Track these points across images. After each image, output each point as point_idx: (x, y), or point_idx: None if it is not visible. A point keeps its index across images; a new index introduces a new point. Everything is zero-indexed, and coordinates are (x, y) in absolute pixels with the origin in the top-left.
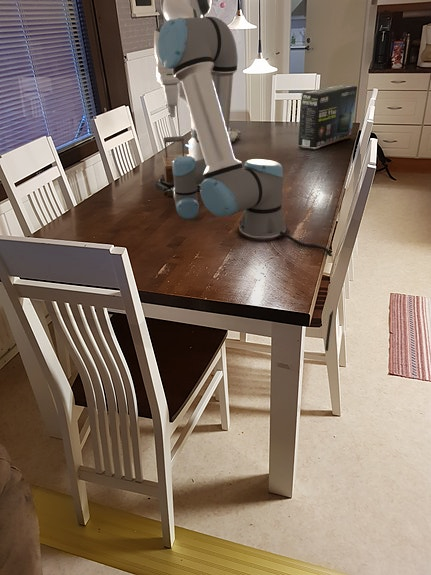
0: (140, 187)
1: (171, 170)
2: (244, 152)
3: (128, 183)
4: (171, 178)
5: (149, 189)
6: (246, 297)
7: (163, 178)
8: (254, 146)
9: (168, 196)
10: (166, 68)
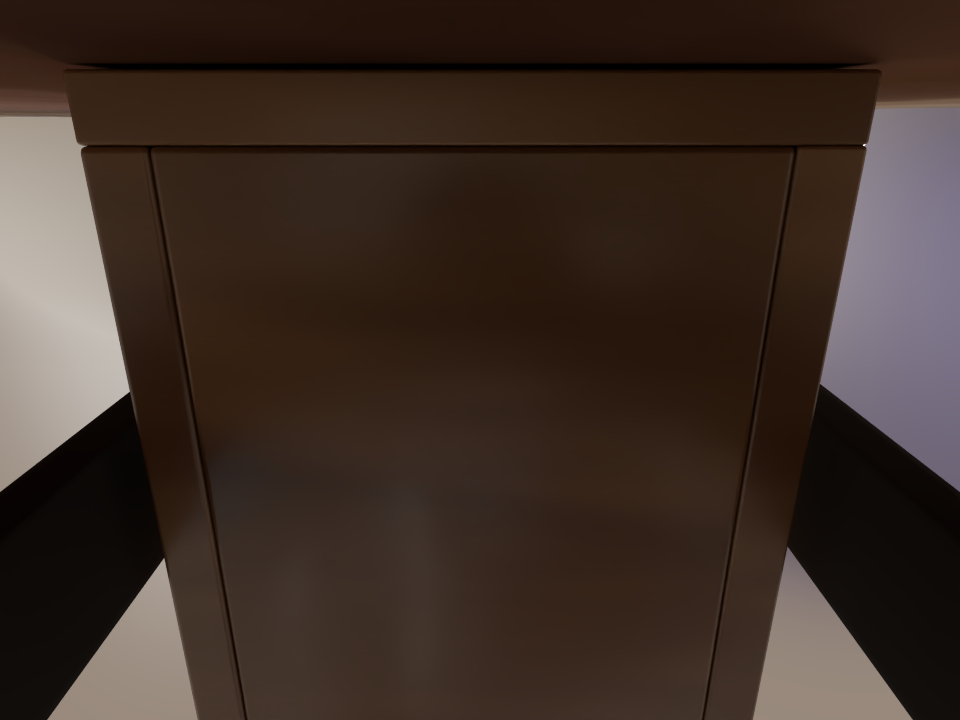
0: (947, 99)
1: (627, 711)
2: (66, 113)
3: (956, 104)
4: (661, 568)
5: (905, 96)
6: None
7: (908, 679)
8: (52, 114)
9: (871, 72)
10: None
